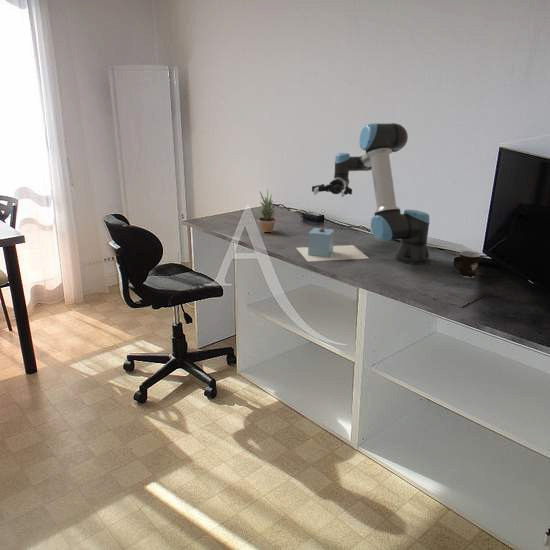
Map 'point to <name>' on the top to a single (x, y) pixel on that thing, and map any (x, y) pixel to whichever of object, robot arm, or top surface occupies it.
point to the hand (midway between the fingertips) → (328, 193)
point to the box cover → (320, 242)
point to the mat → (335, 253)
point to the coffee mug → (468, 263)
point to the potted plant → (267, 215)
